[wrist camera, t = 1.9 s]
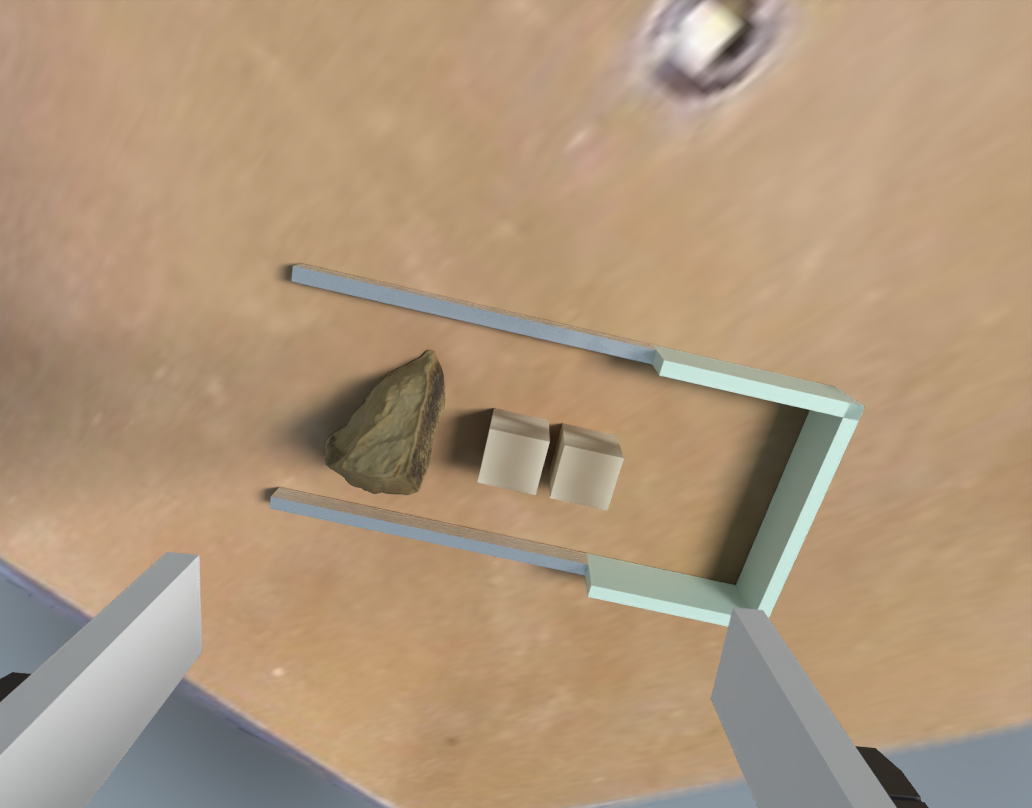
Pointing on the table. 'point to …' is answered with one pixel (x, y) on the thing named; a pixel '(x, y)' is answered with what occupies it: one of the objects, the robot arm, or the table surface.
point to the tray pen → (784, 517)
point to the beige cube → (585, 467)
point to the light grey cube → (515, 451)
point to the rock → (392, 431)
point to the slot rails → (422, 526)
